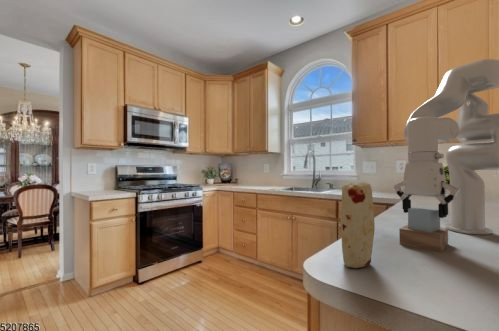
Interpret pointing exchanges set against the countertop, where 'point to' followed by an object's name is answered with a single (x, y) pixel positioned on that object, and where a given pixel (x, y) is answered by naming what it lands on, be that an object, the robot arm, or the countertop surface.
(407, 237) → the walnut block
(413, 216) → the slate cube
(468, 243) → the countertop surface
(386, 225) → the countertop surface
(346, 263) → the food model
